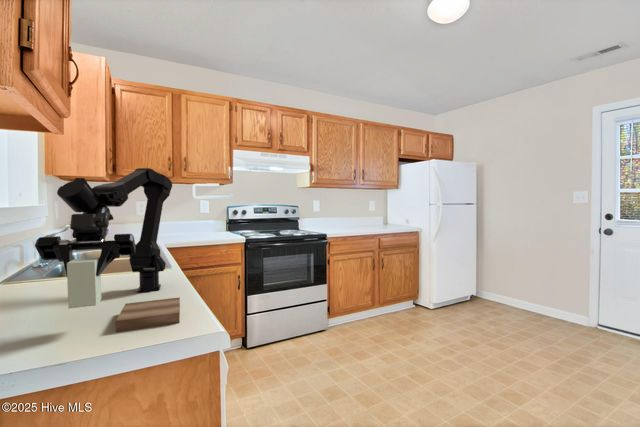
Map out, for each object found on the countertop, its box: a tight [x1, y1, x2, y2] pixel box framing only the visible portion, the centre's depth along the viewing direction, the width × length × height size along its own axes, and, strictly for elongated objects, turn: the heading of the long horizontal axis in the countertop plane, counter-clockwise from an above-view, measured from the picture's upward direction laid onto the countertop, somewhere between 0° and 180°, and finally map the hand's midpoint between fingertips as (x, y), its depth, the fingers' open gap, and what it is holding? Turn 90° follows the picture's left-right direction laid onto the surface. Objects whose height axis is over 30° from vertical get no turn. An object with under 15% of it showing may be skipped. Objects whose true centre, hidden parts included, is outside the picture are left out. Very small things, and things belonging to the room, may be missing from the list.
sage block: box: [66, 257, 102, 309], centre depth 70 cm, size 5×5×10 cm
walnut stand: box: [115, 296, 181, 333], centre depth 78 cm, size 13×13×2 cm
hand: (82, 276), depth 69 cm, fingers closed on sage block, 5 cm apart
